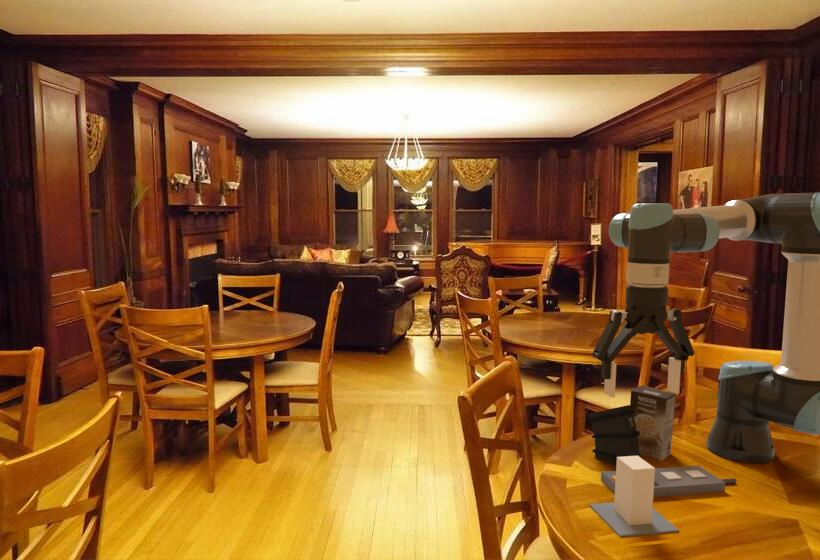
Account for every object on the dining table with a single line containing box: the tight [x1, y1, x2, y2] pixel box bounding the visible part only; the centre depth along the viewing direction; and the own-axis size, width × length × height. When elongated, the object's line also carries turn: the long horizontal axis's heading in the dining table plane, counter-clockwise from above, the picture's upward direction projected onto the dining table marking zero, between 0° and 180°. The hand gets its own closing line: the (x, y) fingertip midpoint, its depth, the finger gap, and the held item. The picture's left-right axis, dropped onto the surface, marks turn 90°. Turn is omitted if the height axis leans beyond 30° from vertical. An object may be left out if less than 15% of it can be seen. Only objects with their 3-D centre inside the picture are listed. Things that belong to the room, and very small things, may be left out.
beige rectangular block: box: [613, 455, 656, 525], centre depth 118 cm, size 4×6×11 cm
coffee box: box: [629, 385, 677, 461], centre depth 151 cm, size 9×6×16 cm
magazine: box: [587, 404, 643, 467], centre depth 145 cm, size 4×13×15 cm, turn 32°
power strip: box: [600, 464, 737, 498], centre depth 133 cm, size 30×9×3 cm, turn 100°
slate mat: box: [589, 501, 680, 538], centre depth 118 cm, size 12×12×1 cm
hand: (641, 393), depth 118 cm, fingers open, 13 cm apart
